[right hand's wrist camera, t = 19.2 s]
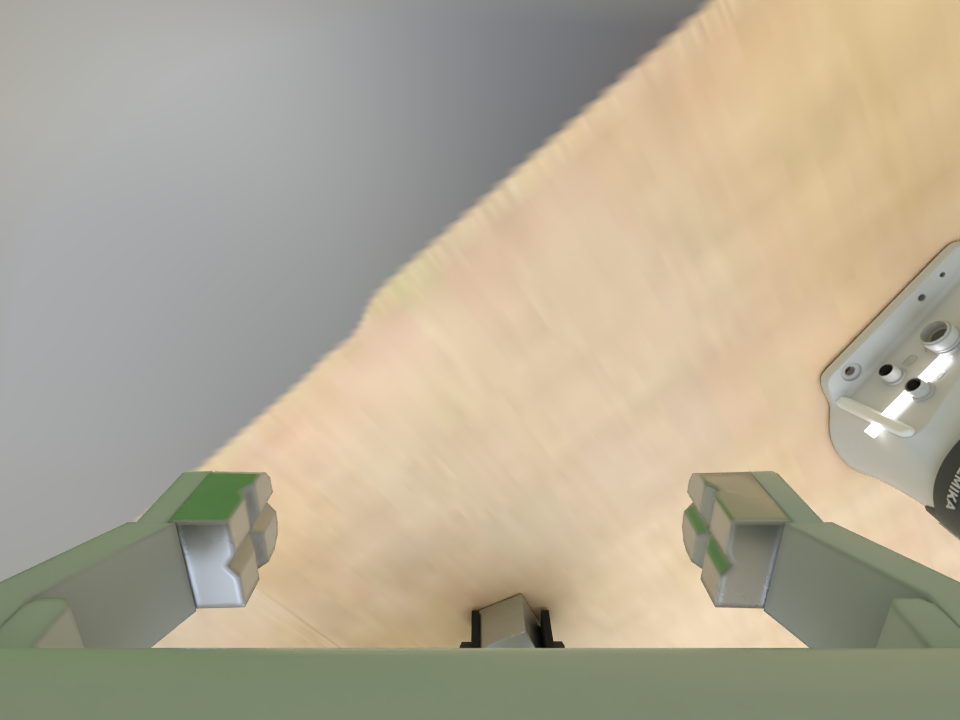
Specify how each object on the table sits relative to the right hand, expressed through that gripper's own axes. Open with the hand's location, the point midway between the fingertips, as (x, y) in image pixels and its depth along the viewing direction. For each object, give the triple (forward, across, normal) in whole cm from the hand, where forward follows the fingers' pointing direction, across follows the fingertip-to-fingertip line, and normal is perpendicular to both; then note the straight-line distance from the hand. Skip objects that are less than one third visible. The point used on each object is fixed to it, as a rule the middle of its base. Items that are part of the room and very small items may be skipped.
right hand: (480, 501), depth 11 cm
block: (+36, +3, -40) cm, 54 cm away
